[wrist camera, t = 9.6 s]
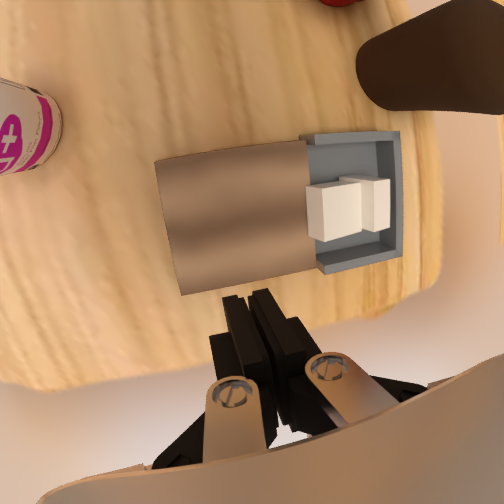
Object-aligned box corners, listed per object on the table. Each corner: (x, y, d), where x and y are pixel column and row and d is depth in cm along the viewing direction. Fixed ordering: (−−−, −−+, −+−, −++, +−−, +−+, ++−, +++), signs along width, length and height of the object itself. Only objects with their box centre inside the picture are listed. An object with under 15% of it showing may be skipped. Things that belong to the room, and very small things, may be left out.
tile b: (373, 181, 28) (389, 178, 29) (338, 176, 33) (355, 174, 34) (374, 232, 30) (389, 227, 31) (340, 222, 34) (356, 218, 35)
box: (299, 135, 32) (314, 134, 28) (379, 131, 33) (399, 130, 29) (310, 261, 36) (324, 274, 33) (383, 245, 38) (402, 256, 34)
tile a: (305, 186, 30) (321, 188, 28) (343, 180, 32) (360, 182, 30) (308, 236, 32) (324, 242, 30) (345, 226, 34) (361, 231, 32)
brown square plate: (156, 161, 30) (154, 162, 27) (295, 140, 32) (305, 140, 29) (181, 283, 34) (181, 295, 31) (306, 258, 36) (316, 268, 33)
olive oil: (337, 85, 31) (546, 43, 7) (366, 18, 28) (538, -51, 5) (406, 132, 34) (597, 154, 11) (429, 66, 32) (597, 52, 9)
